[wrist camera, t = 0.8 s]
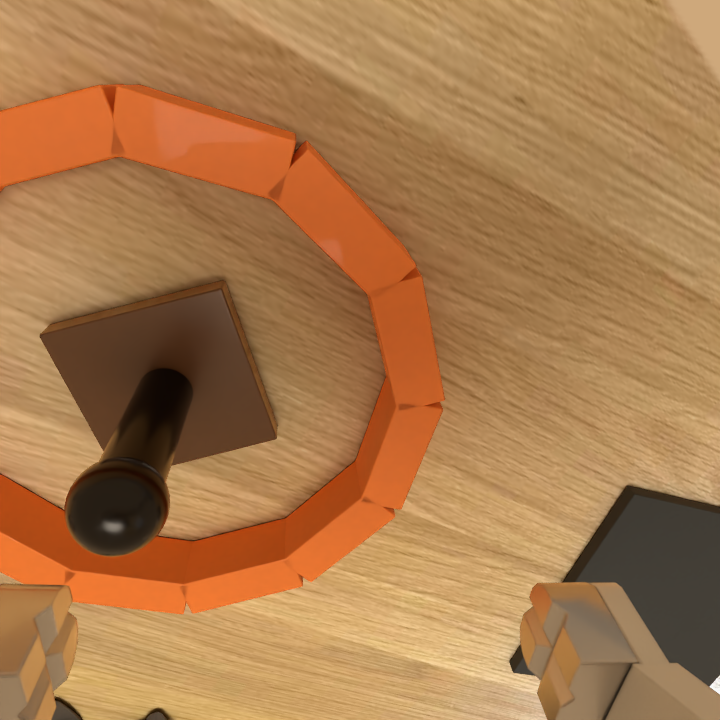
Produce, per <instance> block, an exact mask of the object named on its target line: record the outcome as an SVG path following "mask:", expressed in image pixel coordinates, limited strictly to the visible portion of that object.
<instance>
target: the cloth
mask: <svg viewBox="0 0 720 720" xmlns="http://www.w3.org/2000/svg"><path fill="white" fill-rule="evenodd" d="M55 702H56V709H55V712H54V714H53V717H52V719H51V720H81V718H80V717H79V716H78V715H77V714H76V713H75V712H73V711H72V710H71V709H70V708H68V707H67V706H65V705H64V704H62V703H61V702H59V701H55ZM146 720H167V719H166V717H165V716H164V715H163V714H162V713H160V712H159V711H157V712H154V713H152V714H151V715H149V716H148V717H147V719H146Z"/></svg>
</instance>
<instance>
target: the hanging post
mask: <svg viewBox="0 0 720 720" xmlns="http://www.w3.org/2000/svg"><path fill="white" fill-rule="evenodd" d="M40 338H41V340H42V342H43V343H44V345H45V347H46V349H47V351H48V352H49V354H50V356H51V358H52V359H53V361H54V363H55V365H56V367H57V368H58V370H59V372H60V374H61V376H62V377H63V379H64V381H65V383H66V385H67V386H68V388H69V390H70V392H71V394H72V395H73V397H74V399H75V401H76V403H77V404H78V406H79V408H80V410H81V412H82V413H83V415H84V417H85V419H86V421H87V422H88V424H89V426H90V428H91V430H92V431H93V433H94V435H95V437H96V439H97V440H98V442H99V444H100V446H101V448H102V449H103V451H104V452H103V454H102V456H101V458H100V460H99V462H97V463H95V464H93V465H92V466H90V467H89V468H87V469H86V470H85V471H84V472H82V473H81V475H80V476H79V477H78V478H77V479H76V480H75V482H74V483H73V485H72V486H71V488H70V490H69V492H68V495H67V498H66V502H65V521H66V525H67V528H68V530H69V532H70V534H71V536H72V537H73V539H74V540H75V541H76V542H77V543H78V544H79V545H80V546H81V547H82V548H84V549H86V550H87V551H89V552H91V553H94V554H97V555H101V556H108V557H116V556H123V555H127V554H131V553H133V552H136V551H138V550H140V549H141V548H143V547H145V546H146V545H147V544H149V543H150V542H151V541H152V540H153V539H154V538H155V537H156V536H157V535H158V534H159V532H160V531H161V529H162V528H163V526H164V524H165V522H166V520H167V517H168V513H169V508H170V495H169V490H168V487H167V484H166V480H167V477H168V474H169V471H170V468H171V466H172V465H176V464H180V463H184V462H188V461H192V460H196V459H199V458H203V457H207V456H211V455H215V454H219V453H223V452H227V451H231V450H235V449H239V448H243V447H247V446H251V445H255V444H259V443H263V442H267V441H271V440H275V439H277V423H276V420H275V417H274V414H273V412H272V409H271V406H270V403H269V401H268V398H267V395H266V392H265V390H264V387H263V384H262V381H261V379H260V376H259V373H258V370H257V368H256V365H255V362H254V359H253V357H252V354H251V351H250V348H249V346H248V343H247V340H246V337H245V335H244V332H243V329H242V326H241V323H240V321H239V318H238V315H237V312H236V310H235V307H234V304H233V301H232V299H231V296H230V293H229V290H228V288H227V285H226V282H225V281H224V280H222V281H218V282H214V283H210V284H206V285H202V286H198V287H194V288H191V289H187V290H183V291H179V292H175V293H171V294H167V295H163V296H159V297H155V298H152V299H148V300H144V301H140V302H136V303H132V304H128V305H124V306H120V307H116V308H113V309H109V310H105V311H101V312H97V313H93V314H89V315H85V316H81V317H77V318H74V319H70V320H66V321H62V322H58V323H54V324H50V325H49V326H48V327H47V328H46V329H45V330H44V331H43V332H42V333H41V334H40Z"/></svg>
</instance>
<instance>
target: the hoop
mask: <svg viewBox="0 0 720 720" xmlns="http://www.w3.org/2000/svg"><path fill="white" fill-rule="evenodd" d="M295 144H296V134H295V133H293V132H289V131H286V130H283V129H280V128H277V127H273V126H270V125H267V124H264V123H261V122H258V121H254V120H251V119H248V118H245V117H242V116H238V115H235V114H232V113H229V112H226V111H222V110H219V109H216V108H213V107H210V106H207V105H203V104H200V103H197V102H194V101H191V100H187V99H184V98H181V97H178V96H175V95H171V94H168V93H165V92H162V91H159V90H155V89H152V88H149V87H146V86H143V85H124V84H115V85H97V86H93V87H89V88H85V89H82V90H78V91H74V92H70V93H66V94H62V95H59V96H55V97H51V98H47V99H43V100H39V101H36V102H32V103H28V104H24V105H20V106H16V107H13V108H9V109H5V110H1V111H0V192H1V191H2V189H3V188H4V187H5V186H8V185H12V184H16V183H20V182H24V181H28V180H31V179H35V178H39V177H43V176H47V175H51V174H55V173H58V172H62V171H66V170H70V169H74V168H78V167H82V166H85V165H89V164H93V163H97V162H101V161H105V160H108V159H112V158H116V157H122V158H126V159H130V160H133V161H137V162H140V163H144V164H147V165H151V166H154V167H158V168H161V169H165V170H168V171H172V172H175V173H179V174H182V175H186V176H189V177H193V178H196V179H200V180H204V181H207V182H211V183H214V184H218V185H221V186H225V187H228V188H232V189H235V190H239V191H242V192H246V193H249V194H253V195H256V196H260V197H263V198H267V199H270V200H273V201H274V202H275V203H276V204H277V205H278V206H279V207H280V208H281V209H282V210H283V211H284V212H285V213H286V214H287V215H288V216H289V217H290V218H291V219H292V220H293V221H294V222H295V223H296V224H297V225H298V226H299V227H300V228H301V229H302V230H303V231H304V232H305V233H306V234H307V235H308V236H309V237H310V238H311V239H312V240H313V241H314V242H315V243H316V244H317V245H318V246H319V247H320V248H321V249H322V250H323V251H324V252H325V253H326V254H327V255H328V256H329V257H330V258H331V259H332V260H333V261H334V262H335V263H336V264H337V265H338V266H339V267H340V268H341V269H342V270H343V271H344V272H345V273H346V274H347V275H348V276H349V277H350V278H351V279H352V280H353V281H354V282H355V283H356V284H357V285H358V286H359V287H360V288H361V289H362V290H363V291H364V292H365V293H366V294H367V296H368V300H369V304H370V309H371V313H372V317H373V321H374V325H375V330H376V334H377V338H378V342H379V346H380V351H381V355H382V359H383V363H384V367H385V372H386V378H385V381H384V384H383V386H382V389H381V392H380V395H379V397H378V400H377V403H376V406H375V408H374V411H373V414H372V417H371V420H370V422H369V425H368V428H367V431H366V433H365V436H364V439H363V442H362V444H361V447H360V450H359V453H358V455H357V458H356V461H355V462H353V463H352V464H351V465H350V466H349V467H347V468H346V469H345V470H344V471H343V472H341V473H340V474H339V475H338V476H337V477H335V478H334V479H333V480H332V481H330V482H329V483H328V484H327V485H326V486H324V487H323V488H322V489H321V490H320V491H318V492H317V493H316V494H315V495H314V496H312V497H311V498H310V499H309V500H307V501H306V502H305V503H304V504H303V505H301V506H300V507H299V508H298V509H297V510H295V511H294V512H293V513H292V514H290V515H289V516H288V517H287V518H285V519H281V520H277V521H273V522H269V523H265V524H261V525H257V526H253V527H249V528H245V529H241V530H237V531H233V532H229V533H225V534H221V535H217V536H213V537H209V538H205V539H201V540H197V541H186V540H179V539H172V538H165V537H158V536H156V537H155V538H154V539H153V540H152V541H151V542H150V543H149V544H147V545H146V546H145V547H143V548H141V549H140V550H138V551H136V552H133V553H131V554H127V555H123V556H116V557H108V556H101V555H97V554H94V553H91V552H89V551H87V550H86V549H84V548H82V547H81V546H80V545H79V544H78V543H77V542H76V541H75V540H74V539H73V537H72V536H71V534H70V532H69V530H68V528H67V525H66V521H65V511H63V510H61V509H60V508H58V507H56V506H54V505H53V504H51V503H49V502H48V501H46V500H44V499H42V498H41V497H39V496H37V495H35V494H34V493H32V492H30V491H29V490H27V489H25V488H23V487H22V486H20V485H18V484H16V483H15V482H13V481H11V480H10V479H8V478H6V477H4V476H3V475H1V474H0V572H1V573H3V574H5V575H7V576H9V577H11V578H13V579H15V580H17V581H19V582H21V583H23V584H41V585H67V586H70V589H71V593H72V598H73V601H72V602H79V603H88V604H97V605H105V606H114V607H123V608H132V609H141V610H150V611H158V612H167V613H176V614H183V613H184V610H185V606H186V602H187V604H188V606H189V608H190V609H191V611H192V613H197V612H201V611H205V610H209V609H213V608H217V607H221V606H225V605H229V604H233V603H237V602H241V601H245V600H249V599H253V598H257V597H261V596H265V595H269V594H273V593H277V592H282V591H286V590H290V589H294V588H298V587H302V586H303V577H304V578H305V579H307V580H308V581H310V582H312V581H313V580H314V579H316V578H317V577H318V576H320V575H321V574H322V573H323V572H325V571H326V570H327V569H329V568H330V567H331V566H332V565H334V564H335V563H336V562H338V561H339V560H340V559H342V558H343V557H344V556H345V555H347V554H348V553H349V552H351V551H352V550H353V549H354V548H356V547H357V546H358V545H360V544H361V543H362V542H363V541H365V540H366V539H367V538H369V537H370V536H371V535H373V534H374V533H375V532H376V531H378V530H379V529H380V528H382V527H383V526H384V525H385V524H387V523H388V522H389V521H391V520H392V519H393V518H394V517H395V513H394V509H401V508H402V506H403V504H404V501H405V499H406V497H407V494H408V492H409V490H410V487H411V485H412V482H413V480H414V478H415V475H416V473H417V471H418V468H419V466H420V464H421V461H422V459H423V456H424V454H425V452H426V449H427V447H428V445H429V442H430V440H431V438H432V435H433V433H434V430H435V428H436V426H437V423H438V421H439V419H440V416H441V414H442V412H443V408H442V406H441V404H440V401H444V400H445V397H444V392H443V387H442V381H441V376H440V370H439V365H438V360H437V354H436V349H435V344H434V338H433V333H432V327H431V322H430V317H429V311H428V306H427V300H426V295H425V290H424V284H423V279H422V276H421V274H420V273H419V271H418V270H417V268H416V264H415V262H414V261H413V259H412V258H411V256H410V255H409V253H408V252H407V250H406V248H405V247H404V245H403V244H402V243H401V242H400V241H399V240H398V239H397V238H396V237H395V236H394V234H393V233H392V232H391V231H390V230H389V229H388V228H387V227H386V226H385V225H384V224H383V223H382V221H381V220H380V219H379V218H378V217H377V216H376V215H375V214H374V213H373V212H372V211H371V210H370V208H369V207H368V206H367V205H366V204H365V203H364V202H363V201H362V200H361V199H360V198H359V197H358V195H357V194H356V193H355V192H354V191H353V190H352V189H351V188H350V187H349V186H348V185H347V184H346V182H345V181H344V180H343V179H342V178H341V177H340V176H339V175H338V174H337V173H336V172H335V171H334V169H333V168H332V167H331V166H330V165H329V164H328V163H327V162H326V161H325V160H324V159H323V158H322V156H321V155H320V154H319V153H318V152H317V151H316V150H315V149H314V148H313V147H312V146H311V144H310V143H309V142H308V141H305V142H304V143H303V144H302V145H301V147H300V148H299V149H298V150H297V151H296V152H295V153H294V149H295ZM293 153H294V154H293ZM393 508H394V509H393Z"/></svg>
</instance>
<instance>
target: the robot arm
mask: <svg viewBox="0 0 720 720" xmlns="http://www.w3.org/2000/svg"><path fill="white" fill-rule="evenodd" d="M530 600H531V602H532V605H533V607H532V608H531V609H529V610H528V611H527V612H526V613H524V615H523V618H522V622H521V625H520V643H521V648H522V653H523V656H524V659H525V662H526V665H527V667H528V669H529V670H530V671H531V672H532V673H533V674H534V675H535V676H536V677H538V678H539V679H540V680H541V681H540V685H539V688H538V692H537V694H538V696H539V699H540V702H541V704H542V707H543V709H544V712H545V715H546V717H547V720H720V695H719V694H718V693H717V692H715V691H714V690H713V689H711V688H710V687H709V686H707V685H706V684H705V683H703V682H702V681H701V680H699V679H698V678H697V677H695V676H694V675H693V674H691V673H690V672H689V671H687V670H686V669H685V668H683V667H682V666H681V665H679V664H678V663H669V661H668V660H667V658H666V657H665V655H664V653H663V652H662V650H661V649H660V647H659V645H658V644H657V642H656V641H655V639H654V638H653V636H652V634H651V633H650V631H649V630H648V628H647V626H646V625H645V623H644V622H643V620H642V619H641V617H640V615H639V614H638V612H637V611H636V609H635V607H634V606H633V604H632V603H631V601H630V600H629V598H628V596H627V595H626V593H625V592H624V590H623V589H622V587H621V586H619V585H618V584H617V583H586V582H569V583H537V584H536V585H535V586H534V587H533V588H532V591H531V594H530ZM72 601H73V598H72V593H71V589H70V586H67V585H41V584H0V720H51V719H52V717H53V714H54V712H55V709H56V702H55V698H54V693H53V691H54V690H55V689H57V688H58V687H59V686H60V685H61V684H62V683H63V682H64V681H66V680H67V678H68V676H69V673H70V670H71V668H72V665H73V662H74V658H75V653H76V648H77V644H78V625H77V619H76V617H74V616H73V615H72V614H71V613H69V612H68V610H69V608H70V606H71V603H72Z"/></svg>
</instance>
